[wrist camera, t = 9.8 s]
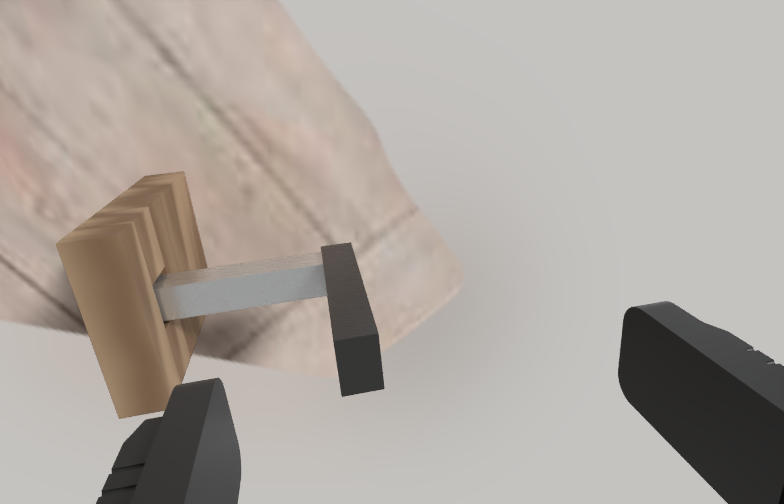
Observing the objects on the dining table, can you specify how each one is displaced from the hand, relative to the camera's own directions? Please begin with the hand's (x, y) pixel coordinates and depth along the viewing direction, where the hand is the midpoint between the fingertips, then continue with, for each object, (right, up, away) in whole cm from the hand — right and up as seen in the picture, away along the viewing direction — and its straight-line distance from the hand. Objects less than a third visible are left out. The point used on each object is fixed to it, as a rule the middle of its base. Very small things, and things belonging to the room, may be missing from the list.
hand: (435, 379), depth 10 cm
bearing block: (-19, +4, +32) cm, 37 cm away
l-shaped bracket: (-10, +1, +23) cm, 25 cm away
